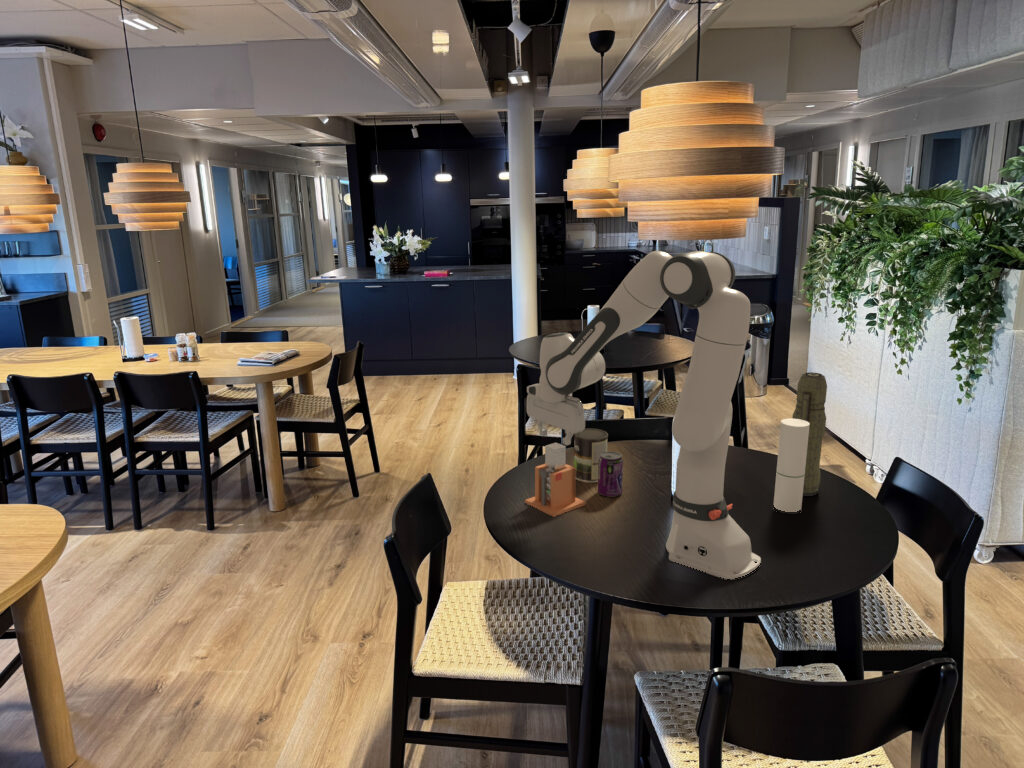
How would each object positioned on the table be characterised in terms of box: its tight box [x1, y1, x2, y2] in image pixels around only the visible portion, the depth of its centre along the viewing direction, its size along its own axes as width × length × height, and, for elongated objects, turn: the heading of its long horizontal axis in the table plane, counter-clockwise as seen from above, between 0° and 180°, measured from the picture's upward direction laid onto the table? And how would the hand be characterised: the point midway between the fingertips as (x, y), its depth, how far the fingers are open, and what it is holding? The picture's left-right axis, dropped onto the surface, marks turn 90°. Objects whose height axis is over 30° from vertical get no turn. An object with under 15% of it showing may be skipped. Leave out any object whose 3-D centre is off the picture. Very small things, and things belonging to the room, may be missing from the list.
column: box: [544, 442, 567, 502], centre depth 198 cm, size 4×5×16 cm
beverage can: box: [597, 450, 624, 498], centre depth 205 cm, size 7×7×12 cm
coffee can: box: [573, 427, 609, 484], centre depth 218 cm, size 10×10×14 cm
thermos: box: [791, 372, 828, 493], centre depth 203 cm, size 9×12×35 cm
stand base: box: [524, 463, 586, 518], centre depth 199 cm, size 12×12×11 cm
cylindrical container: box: [773, 417, 810, 512], centre depth 192 cm, size 7×7×25 cm
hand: (554, 439), depth 196 cm, fingers open, 8 cm apart
